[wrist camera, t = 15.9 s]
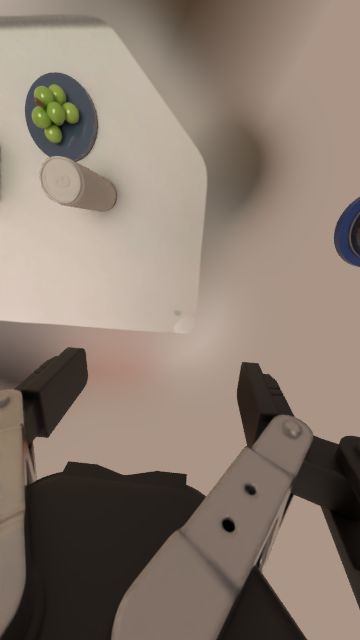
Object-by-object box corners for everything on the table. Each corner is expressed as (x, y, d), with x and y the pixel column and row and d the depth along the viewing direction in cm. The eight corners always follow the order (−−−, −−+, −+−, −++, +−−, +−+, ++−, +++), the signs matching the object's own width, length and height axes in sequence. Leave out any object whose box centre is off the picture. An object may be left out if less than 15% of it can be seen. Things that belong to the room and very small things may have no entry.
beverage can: (85, 176, 36) (34, 153, 25) (116, 177, 36) (79, 155, 25) (88, 211, 38) (41, 203, 27) (117, 212, 38) (83, 206, 27)
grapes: (94, 76, 32) (71, 42, 26) (99, 163, 36) (80, 151, 30) (22, 74, 33) (-17, 41, 27) (35, 161, 36) (3, 148, 30)
